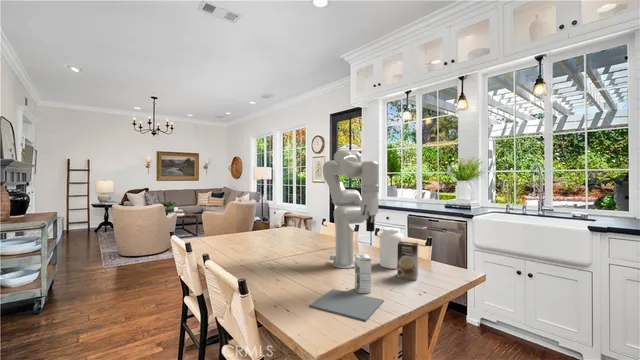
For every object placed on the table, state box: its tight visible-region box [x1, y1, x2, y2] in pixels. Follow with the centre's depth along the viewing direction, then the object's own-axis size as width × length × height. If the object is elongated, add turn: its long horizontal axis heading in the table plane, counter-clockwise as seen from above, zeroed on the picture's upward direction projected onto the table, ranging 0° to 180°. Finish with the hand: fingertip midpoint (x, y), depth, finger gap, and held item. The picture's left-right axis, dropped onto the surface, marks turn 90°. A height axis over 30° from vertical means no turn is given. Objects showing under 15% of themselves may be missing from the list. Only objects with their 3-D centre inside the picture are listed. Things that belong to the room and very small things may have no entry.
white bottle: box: [379, 226, 405, 270], centre depth 157 cm, size 12×12×20 cm
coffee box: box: [396, 241, 419, 281], centre depth 139 cm, size 9×6×16 cm
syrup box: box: [354, 253, 372, 294], centre depth 123 cm, size 6×6×14 cm
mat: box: [309, 288, 385, 322], centre depth 110 cm, size 22×18×1 cm
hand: (370, 231), depth 130 cm, fingers closed
